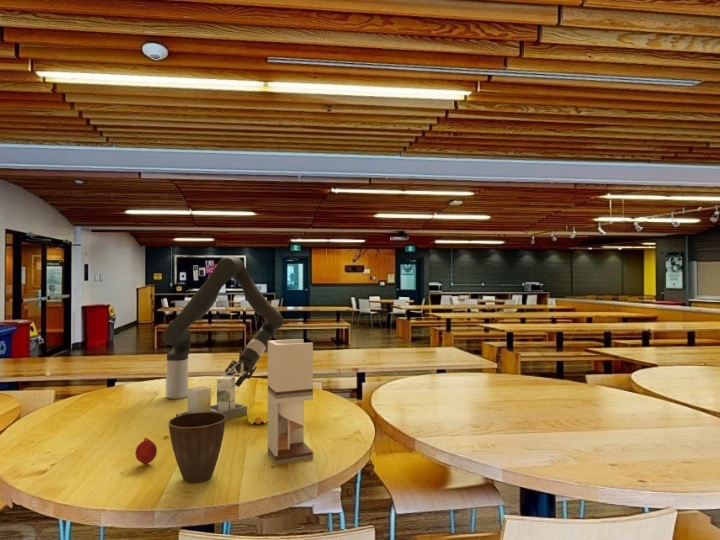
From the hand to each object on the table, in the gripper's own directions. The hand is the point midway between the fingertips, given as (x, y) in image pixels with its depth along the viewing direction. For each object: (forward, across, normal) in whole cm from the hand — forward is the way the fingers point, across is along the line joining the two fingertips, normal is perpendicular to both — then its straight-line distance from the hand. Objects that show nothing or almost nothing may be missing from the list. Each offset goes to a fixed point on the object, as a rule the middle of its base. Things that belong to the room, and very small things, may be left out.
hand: (230, 384), depth 195 cm
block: (+18, 0, -2) cm, 18 cm away
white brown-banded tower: (+20, +53, -4) cm, 57 cm away
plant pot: (+40, +45, -23) cm, 64 cm away
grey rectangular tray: (+14, 0, +2) cm, 14 cm away
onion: (+42, +25, -26) cm, 56 cm away
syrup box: (+9, 0, +7) cm, 12 cm away
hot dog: (+7, +15, +10) cm, 20 cm away
